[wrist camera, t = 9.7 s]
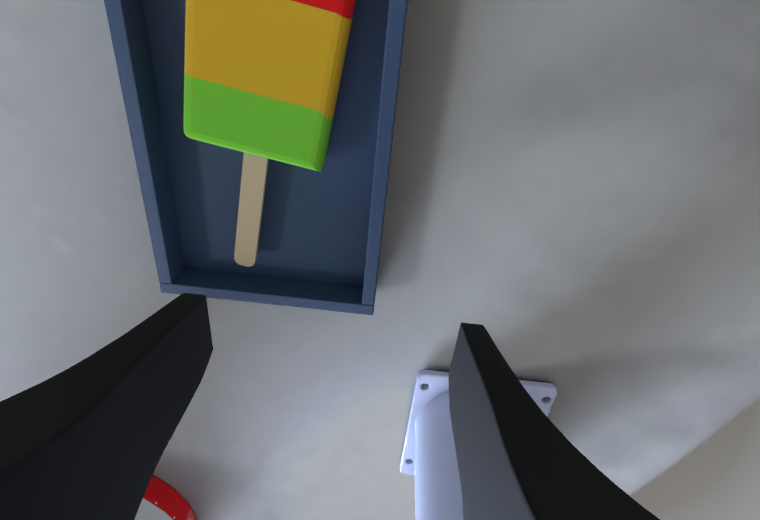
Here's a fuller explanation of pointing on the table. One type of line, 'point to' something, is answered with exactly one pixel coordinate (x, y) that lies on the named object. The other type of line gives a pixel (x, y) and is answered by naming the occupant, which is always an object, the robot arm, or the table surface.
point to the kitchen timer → (163, 503)
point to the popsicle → (264, 88)
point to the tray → (284, 181)
